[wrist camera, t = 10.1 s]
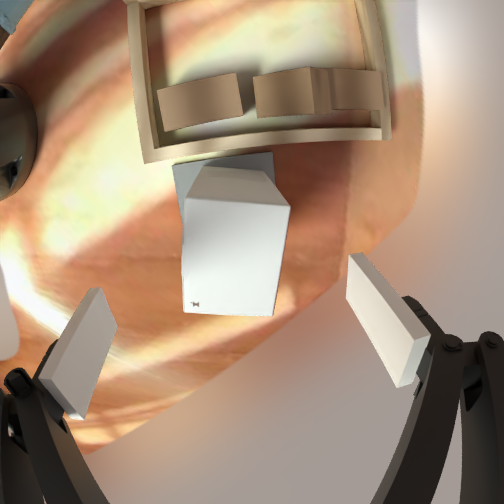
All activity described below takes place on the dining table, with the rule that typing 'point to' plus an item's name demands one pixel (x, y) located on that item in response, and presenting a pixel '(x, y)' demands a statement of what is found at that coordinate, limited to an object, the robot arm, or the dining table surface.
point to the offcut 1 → (200, 102)
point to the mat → (190, 170)
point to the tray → (153, 152)
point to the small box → (233, 242)
